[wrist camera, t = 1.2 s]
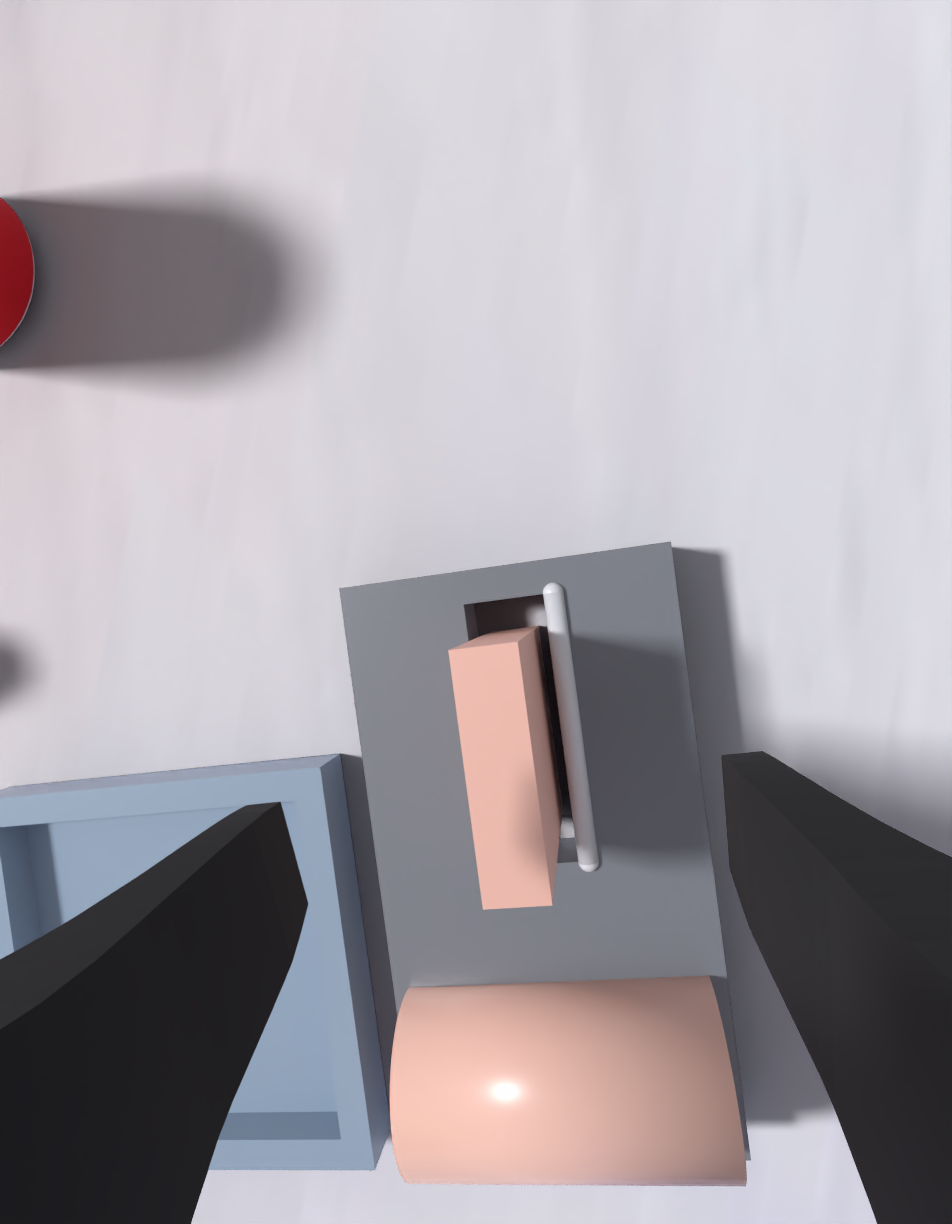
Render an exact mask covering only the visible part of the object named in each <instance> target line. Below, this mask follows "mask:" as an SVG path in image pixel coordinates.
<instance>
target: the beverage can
mask: <svg viewBox="0 0 952 1224" xmlns="http://www.w3.org/2000/svg"><path fill="white" fill-rule="evenodd" d="M34 277H35V266H34V256H33V251H32V246H31V242H30V239H29V236H28V234H27V232H26V229H25V227H24V225H23V224H22V222H21V220H20V219H19V217H18V216H17V214H16V213H15V212H14V210H13V209H12V208H11V207H10V206H9V205H8V204H7V203H6V202H5V201H4V200H3V199H1V198H0V346H2V345H3V344H4V343H5V342H6V341H7V340H8V339H9V338H10V337H11V336H12V334H13V333H14V332H15V331H16V329H17V328H18V327H19V326H20V324H21V322H22V320H23V319H24V317H25V314H26V312H27V309H28V307H29V304H30V302H31V298H32V293H33V288H34Z"/></svg>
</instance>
